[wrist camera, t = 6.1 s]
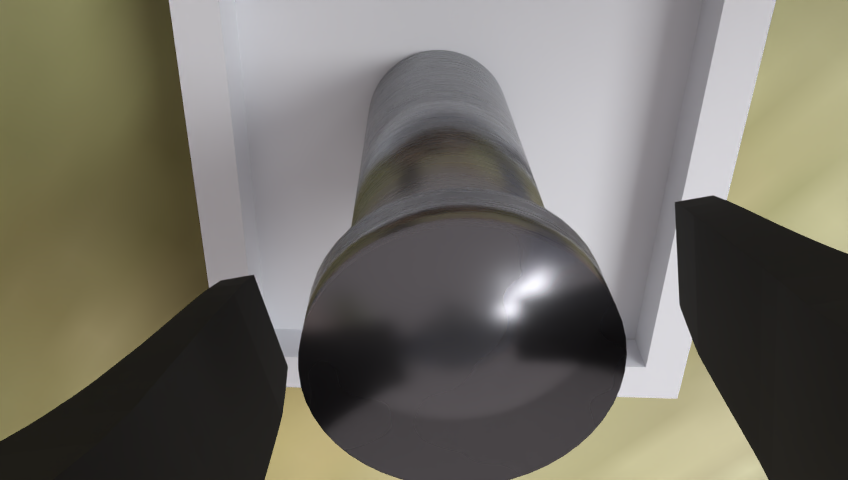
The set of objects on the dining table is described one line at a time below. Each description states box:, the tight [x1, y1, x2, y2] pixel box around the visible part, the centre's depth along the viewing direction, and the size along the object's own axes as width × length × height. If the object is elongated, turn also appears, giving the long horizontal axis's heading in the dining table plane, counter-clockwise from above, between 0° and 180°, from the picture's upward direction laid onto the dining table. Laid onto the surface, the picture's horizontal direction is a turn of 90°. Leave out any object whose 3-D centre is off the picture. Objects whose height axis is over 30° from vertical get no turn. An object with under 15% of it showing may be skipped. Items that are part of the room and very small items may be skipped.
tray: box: [169, 0, 776, 399], centre depth 17 cm, size 12×12×2 cm
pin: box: [298, 50, 627, 480], centre depth 13 cm, size 4×4×9 cm
